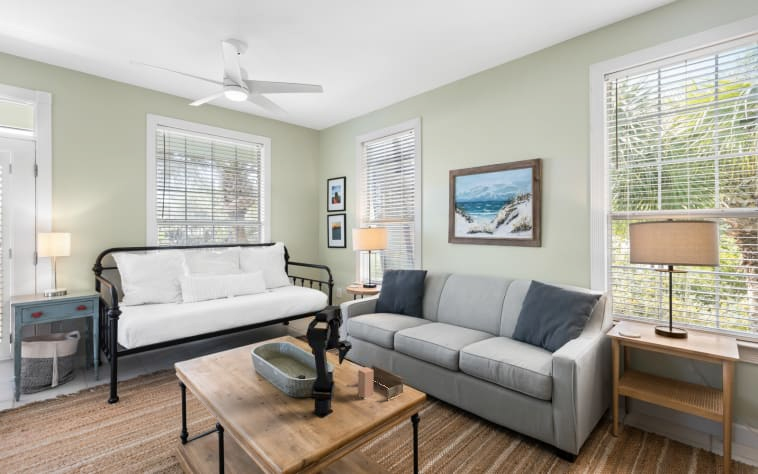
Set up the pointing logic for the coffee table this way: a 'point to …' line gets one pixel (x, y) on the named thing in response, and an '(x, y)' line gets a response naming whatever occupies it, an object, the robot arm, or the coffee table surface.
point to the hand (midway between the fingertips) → (332, 366)
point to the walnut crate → (388, 381)
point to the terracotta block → (365, 382)
